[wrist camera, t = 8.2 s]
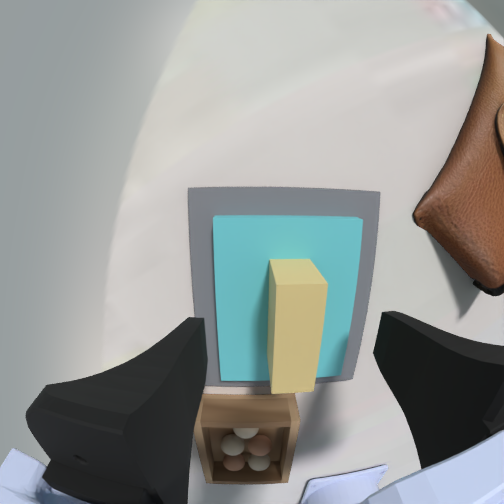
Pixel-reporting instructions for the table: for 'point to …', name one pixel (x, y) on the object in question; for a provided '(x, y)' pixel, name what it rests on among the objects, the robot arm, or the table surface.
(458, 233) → the sunglasses case
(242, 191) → the mat
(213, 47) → the table surface
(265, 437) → the box
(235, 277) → the lid
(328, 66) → the table surface
